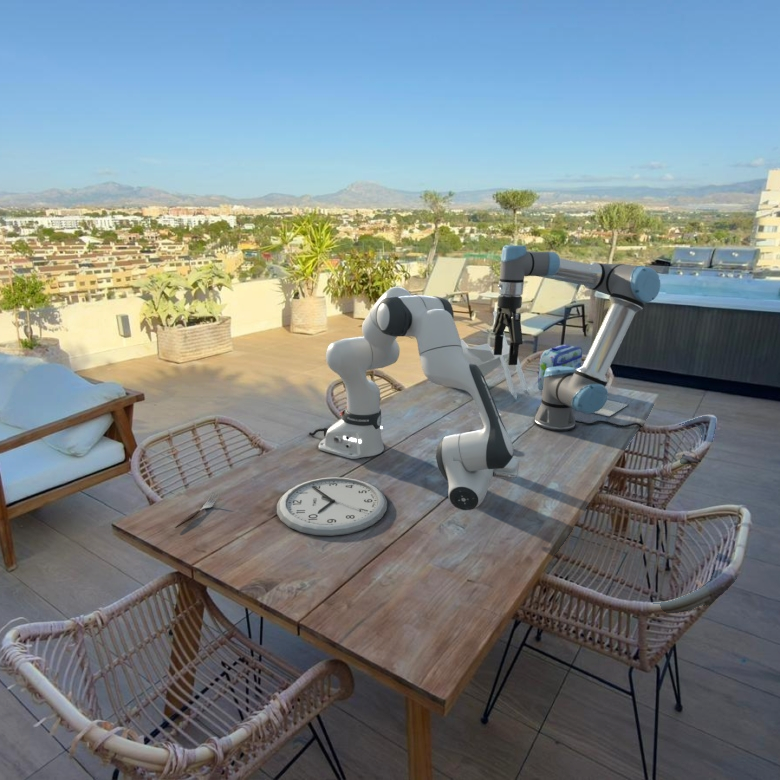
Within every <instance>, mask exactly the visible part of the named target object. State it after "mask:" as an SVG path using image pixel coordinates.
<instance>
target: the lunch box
mask: <svg viewBox="0 0 780 780" xmlns="http://www.w3.org/2000/svg"><path fill="white" fill-rule="evenodd" d="M582 359H583V350H582V347H580V346H574V345H570V344H569V345H568V344H560V345H558V346H555V347H551V348H549V349H546V350H544V351H543V352H542V353H541V355H540V358H539V365H538V377H537V389H538V390H539V391H543V381H544V374H545V370H546V369H547V368H549V367H556V366H564V367H573V368H576V369H577V368H580V367H582V361H583V360H582Z"/></svg>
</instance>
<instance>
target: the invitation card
mask: <svg viewBox="0 0 780 780" xmlns="http://www.w3.org/2000/svg"><path fill="white" fill-rule="evenodd" d="M628 406H629V404H627V403H623V402H618V401H614V400H609V399H607V401H606V403H605V405H604V406H603V407H602V408H601V409H600V410H599V411H597V412H594V413H593V414H596V415H600V416H604V417H608V418H609V417H611V416H613V415H614V414H616V413H617V412H619V411H621V410H623V409H624V408H626V407H628Z"/></svg>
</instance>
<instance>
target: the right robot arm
mask: <svg viewBox="0 0 780 780" xmlns="http://www.w3.org/2000/svg"><path fill="white" fill-rule="evenodd" d="M500 257H501V258H500V268H499V269H500V271H499V272H500V273H499V284H497V287H498V294H499V295H498V296H497V311H496V313H497V316H496V320H495V319H494V324H493V327H492V333H493V335H494V343H493V350H494V355H502V348H503V336H501V335H504V334H505V330H506V328H507V330H508V334H509V340H510V343H509V344H508V345H510V349H509V360H508V361H507V365H508V366H515V365H517V360H518V359H519V347H520V345H523V344H524V343H523V341H524V340H523V332H522V323H521V321H522V320H521V318H522V317H521V316H522V314H521V312H517V310H519V309H521V308H522V305H523V297H522V295H523V294H524V283H525V277H539V278H543V279H550V280H555V281H560V282H565V283H570V284H575V285H580V286H583V287H585V289H587V290H592V291H596V292H599V293H602V294H604V295H607V296H608V299H609V302H610V305H609V307H608V310H607V312H606V314H605V316H604V318H603V321H602V322H601V325H600V327H599V329H598V331H597V333H596V335H595V337H594V339H593V341H592V344H591V345H590V348H589V350H588V353H587V355H586V357H585V358H584V361H583V363H582V364H581V367H580V368H577V369H576V368H573V367H564V366H556V367H549V368H547V369H546V370H545V374H544V381H543V390H542V394H541V402H540V405H539V406H538V407H536V413H535V417H534V424H535V425H536V426H537V427H539V428H542V429H544V430H549V431H556V432H567V431H572V430H574V429H575V428H576V423H577V424H582V425H585V426H593V425H596V424H601V423H603V424H608V425H611V426H614V427H618V428H628V427H632V426H638V427H639V428H644V426H643V424H641V423H638V422H633V423H628V424H617V423H614V422H610V421H608V420H595V421H592V422H586V421H581V420H578V419H576V418H575V417H576V416H575V413H574V411H576V412H578V413H582V414H585V415H593V414H595V413H594V412H597V411H599V410H600V409H601V408H602V407H603V406H604V405H605V403H606V401H607V400H608V399H609V394H608V392H609V391H608V389H607V388H606V386H607V385H608V379H607V374H608V372H609V369H610V367H611V365H612V364H613V362H614V360H615V357H616V355H617V353H618V351H619V348H620V346H621V344H622V342H623V340H624V338H625V336H626V334H627V332H628V329H629V328H630V326H631V323H632V322H633V320H634V317H635V315H636V313H637V312H640V311H642V310H643V309H644V307H645V305H646V304H647V303H650V302H652V301H653V300H655V299H656V298H657V296H658V295H659V293H660V289H661V279H660V275H659V274H658V272H657V271H656V269H654V268H652V267H650V266H645V265H634V264H624V263H601V262H592V263H586V262H580V261H576V260H572V259H565V258H561V257H560V256H559V254H558V253H556V252H555V251H534V250H528V248H527V246H526V245H515V244H507V245H504V246H503V247H502V250H501V256H500ZM503 332H504V333H503Z"/></svg>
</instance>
